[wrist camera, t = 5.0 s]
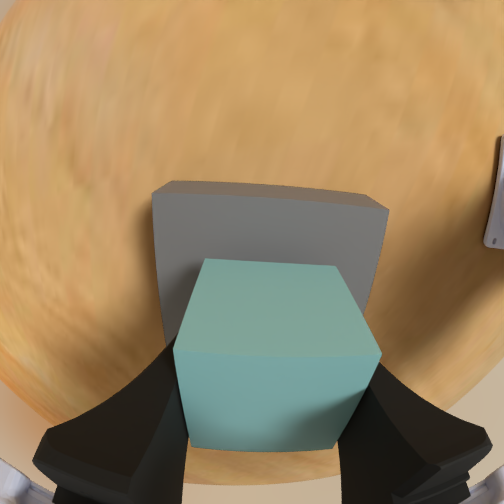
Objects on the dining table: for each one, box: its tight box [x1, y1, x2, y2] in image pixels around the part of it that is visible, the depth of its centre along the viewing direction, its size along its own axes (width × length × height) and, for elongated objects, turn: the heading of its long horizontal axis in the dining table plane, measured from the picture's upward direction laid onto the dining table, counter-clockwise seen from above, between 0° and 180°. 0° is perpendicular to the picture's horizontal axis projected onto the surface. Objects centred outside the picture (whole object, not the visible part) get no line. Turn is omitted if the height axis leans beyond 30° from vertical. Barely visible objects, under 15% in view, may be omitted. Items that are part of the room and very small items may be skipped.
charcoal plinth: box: [152, 181, 389, 346], centre depth 14 cm, size 10×10×3 cm
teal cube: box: [173, 258, 382, 452], centre depth 9 cm, size 5×5×5 cm
